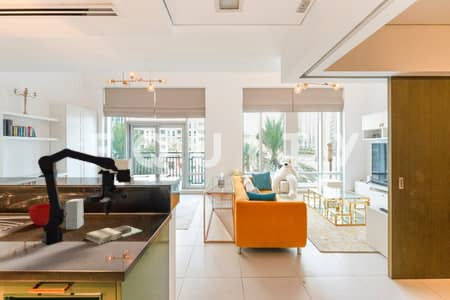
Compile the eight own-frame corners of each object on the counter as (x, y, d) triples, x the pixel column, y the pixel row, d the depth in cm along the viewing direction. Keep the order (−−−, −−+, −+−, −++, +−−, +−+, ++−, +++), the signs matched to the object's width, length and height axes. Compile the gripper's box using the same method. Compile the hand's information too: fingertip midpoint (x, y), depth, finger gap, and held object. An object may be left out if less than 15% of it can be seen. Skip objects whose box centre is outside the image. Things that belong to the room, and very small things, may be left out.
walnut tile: (119, 235, 125) (119, 231, 125) (111, 232, 128) (111, 228, 128) (131, 231, 131) (131, 227, 131) (124, 229, 134) (124, 225, 134)
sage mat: (123, 237, 124) (123, 236, 124) (108, 232, 131) (108, 231, 131) (142, 231, 133) (142, 230, 133) (127, 226, 140) (127, 225, 140)
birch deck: (99, 244, 115) (99, 238, 114) (85, 238, 121) (85, 233, 121) (121, 237, 123) (121, 232, 123) (107, 232, 130) (107, 227, 130)
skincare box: (77, 229, 134) (77, 201, 134) (65, 229, 134) (65, 201, 133) (83, 224, 143) (84, 198, 143) (72, 225, 142) (72, 198, 142)
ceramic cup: (67, 219, 153) (67, 202, 153) (44, 228, 136) (44, 209, 136) (47, 218, 155) (47, 201, 154) (22, 226, 138) (22, 208, 138)
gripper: (98, 186, 114) (97, 221, 114) (134, 182, 129) (133, 213, 129) (85, 184, 120) (84, 217, 120) (121, 180, 135) (120, 210, 136)
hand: (107, 214), depth 126 cm, fingers closed
